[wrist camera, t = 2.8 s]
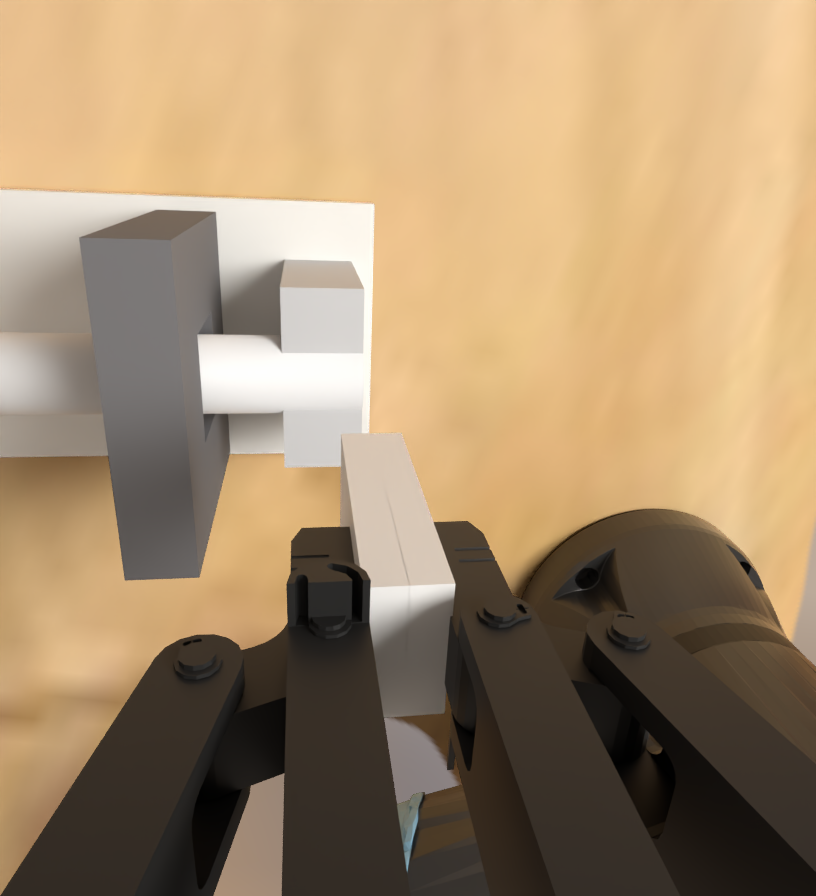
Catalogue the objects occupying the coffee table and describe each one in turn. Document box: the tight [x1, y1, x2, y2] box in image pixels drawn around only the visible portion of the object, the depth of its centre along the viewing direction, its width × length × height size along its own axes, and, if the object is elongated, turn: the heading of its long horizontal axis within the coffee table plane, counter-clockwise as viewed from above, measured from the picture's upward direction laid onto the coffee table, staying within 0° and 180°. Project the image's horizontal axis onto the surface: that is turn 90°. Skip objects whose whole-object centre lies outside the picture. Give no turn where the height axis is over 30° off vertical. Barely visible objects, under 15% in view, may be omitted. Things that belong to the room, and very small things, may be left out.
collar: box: [79, 210, 230, 580], centre depth 26 cm, size 2×11×11 cm, turn 177°
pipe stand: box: [0, 188, 374, 467], centre depth 28 cm, size 30×12×9 cm, turn 87°
